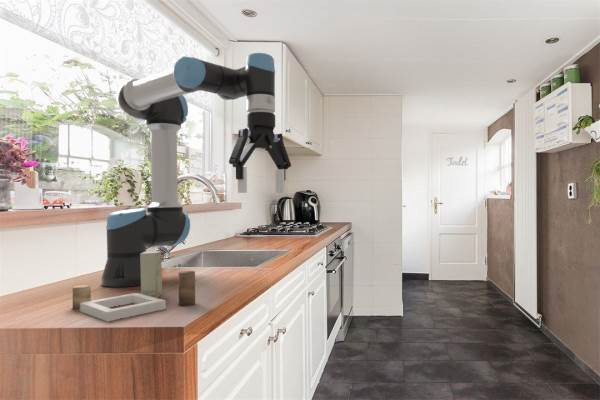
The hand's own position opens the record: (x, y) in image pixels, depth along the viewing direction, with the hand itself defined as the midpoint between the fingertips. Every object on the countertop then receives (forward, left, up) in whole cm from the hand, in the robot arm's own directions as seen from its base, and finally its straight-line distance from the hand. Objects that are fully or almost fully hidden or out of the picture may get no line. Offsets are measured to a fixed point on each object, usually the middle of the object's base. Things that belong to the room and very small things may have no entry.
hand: (262, 192), depth 116 cm
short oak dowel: (-27, -36, -28) cm, 53 cm away
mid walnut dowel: (-9, -18, -28) cm, 34 cm away
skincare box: (-24, -19, -28) cm, 41 cm away
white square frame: (-16, -31, -28) cm, 44 cm away
